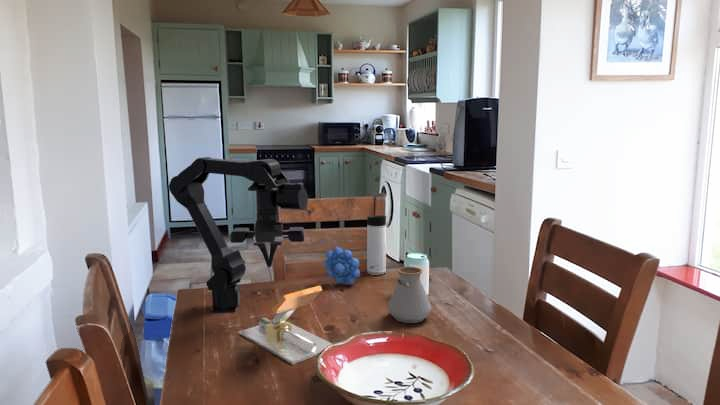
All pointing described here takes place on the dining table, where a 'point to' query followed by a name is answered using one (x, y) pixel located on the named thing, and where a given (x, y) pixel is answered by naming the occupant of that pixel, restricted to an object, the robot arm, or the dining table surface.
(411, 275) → the coffee pot
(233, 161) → the robot arm
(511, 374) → the dining table surface
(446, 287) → the dining table surface
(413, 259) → the can
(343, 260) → the blue bumpy rounded lump
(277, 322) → the valve lever
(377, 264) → the travel mug
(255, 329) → the valve body
